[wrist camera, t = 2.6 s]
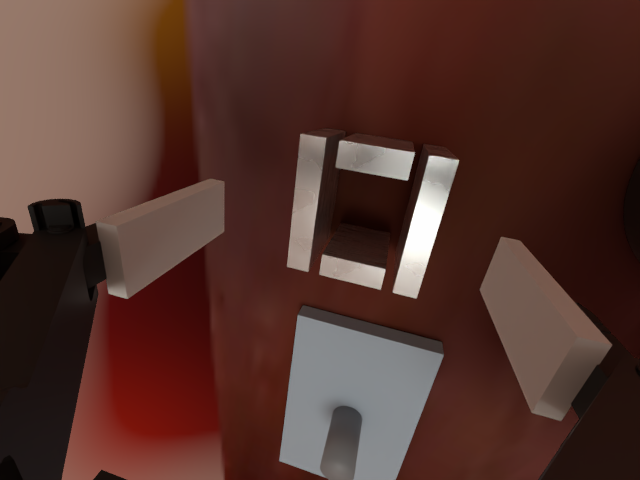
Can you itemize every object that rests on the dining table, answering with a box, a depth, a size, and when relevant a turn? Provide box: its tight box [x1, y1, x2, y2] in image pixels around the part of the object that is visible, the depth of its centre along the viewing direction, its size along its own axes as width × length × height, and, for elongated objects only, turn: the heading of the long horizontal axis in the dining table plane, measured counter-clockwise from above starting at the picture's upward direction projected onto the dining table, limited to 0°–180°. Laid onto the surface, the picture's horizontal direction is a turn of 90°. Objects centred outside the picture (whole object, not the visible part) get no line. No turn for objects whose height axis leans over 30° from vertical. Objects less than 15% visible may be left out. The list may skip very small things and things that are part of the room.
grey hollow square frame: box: [287, 128, 459, 299], centre depth 20 cm, size 8×8×6 cm
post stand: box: [279, 305, 444, 480], centre depth 28 cm, size 12×20×6 cm, turn 172°
